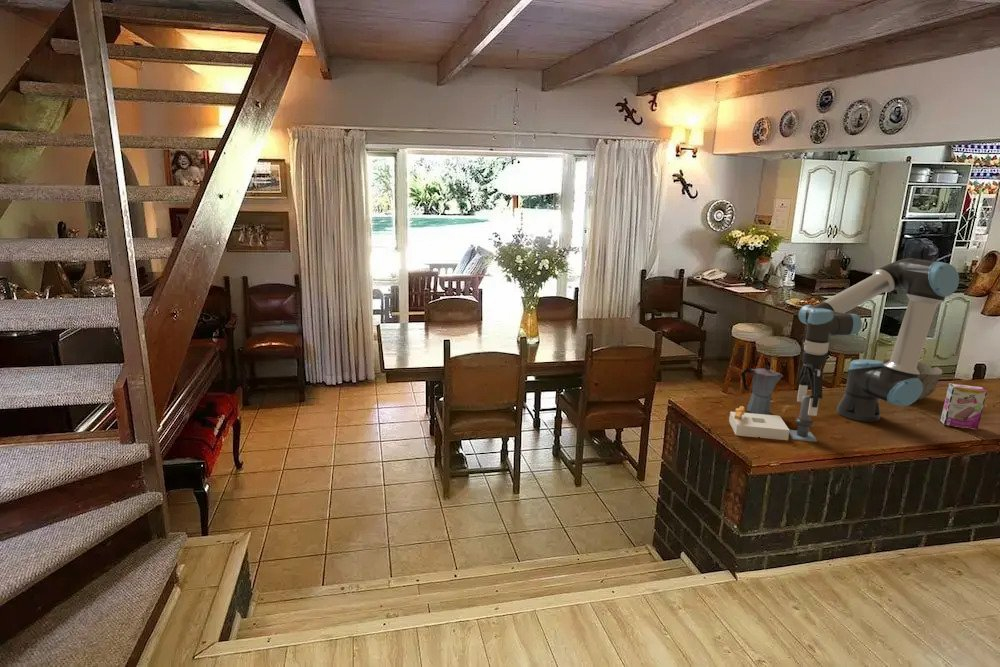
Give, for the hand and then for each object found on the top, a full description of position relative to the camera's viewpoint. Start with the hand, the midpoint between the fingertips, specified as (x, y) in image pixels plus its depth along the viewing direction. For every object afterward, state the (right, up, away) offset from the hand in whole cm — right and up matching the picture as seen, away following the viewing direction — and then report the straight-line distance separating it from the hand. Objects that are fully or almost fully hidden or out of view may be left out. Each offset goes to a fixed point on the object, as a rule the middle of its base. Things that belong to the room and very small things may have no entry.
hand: (806, 408), depth 215 cm
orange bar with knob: (-22, -3, +6) cm, 23 cm away
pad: (0, -11, +3) cm, 11 cm away
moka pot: (-7, -5, +26) cm, 27 cm away
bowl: (+68, -2, +46) cm, 82 cm away
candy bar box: (+68, -9, +16) cm, 70 cm away
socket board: (-15, -9, +7) cm, 19 cm away
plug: (0, -10, +2) cm, 10 cm away
